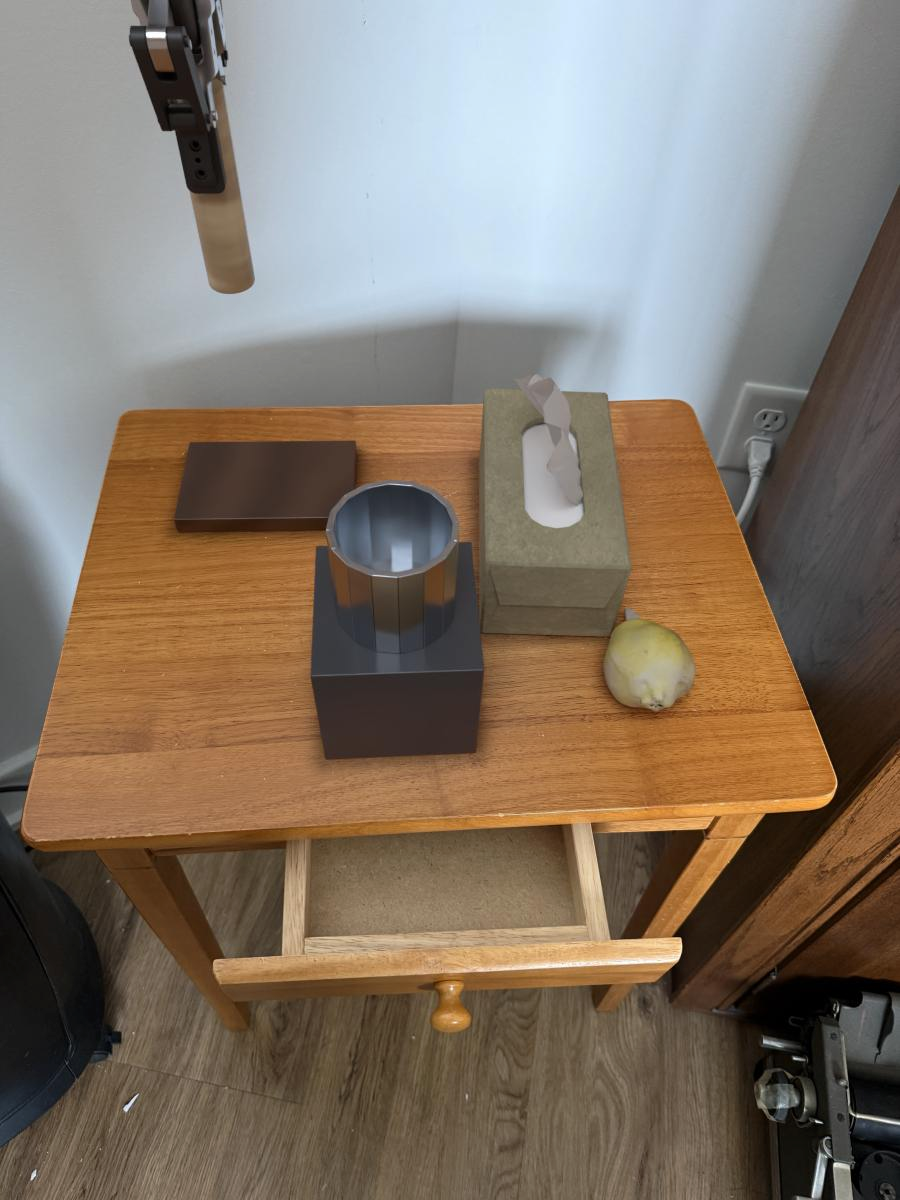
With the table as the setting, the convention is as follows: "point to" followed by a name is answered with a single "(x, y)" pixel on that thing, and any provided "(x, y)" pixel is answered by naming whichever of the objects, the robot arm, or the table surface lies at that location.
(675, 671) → the fruit
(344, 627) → the tin
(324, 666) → the stand
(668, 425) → the table surface
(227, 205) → the stick
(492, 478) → the tissue box
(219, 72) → the robot arm
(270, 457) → the board
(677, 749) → the table surface
